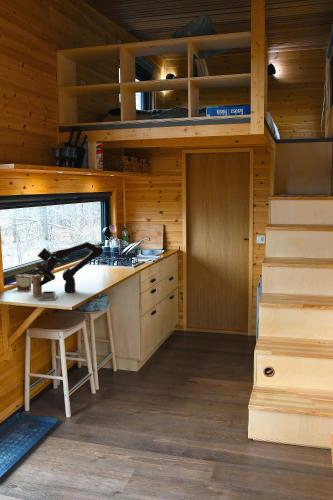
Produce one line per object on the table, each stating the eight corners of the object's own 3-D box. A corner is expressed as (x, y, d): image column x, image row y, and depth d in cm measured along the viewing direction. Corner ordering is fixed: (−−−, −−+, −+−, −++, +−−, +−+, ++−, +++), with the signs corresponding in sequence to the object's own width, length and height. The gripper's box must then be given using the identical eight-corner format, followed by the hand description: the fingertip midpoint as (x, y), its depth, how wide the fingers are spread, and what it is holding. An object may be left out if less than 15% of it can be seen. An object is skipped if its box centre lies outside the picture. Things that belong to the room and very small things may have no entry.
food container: (36, 289, 332) (36, 274, 330) (31, 291, 326) (30, 276, 325) (21, 287, 336) (20, 273, 334) (15, 289, 330) (15, 275, 328)
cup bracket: (57, 296, 311) (57, 290, 310) (56, 300, 301) (55, 294, 300) (41, 296, 310) (41, 291, 309) (39, 300, 300) (39, 294, 299)
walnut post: (38, 294, 316) (37, 274, 314) (42, 295, 313) (41, 275, 312) (33, 295, 313) (32, 275, 311) (36, 296, 310) (35, 276, 309)
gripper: (34, 256, 320) (19, 275, 313) (50, 259, 307) (35, 279, 301) (45, 266, 326) (31, 285, 320) (61, 270, 314) (47, 289, 307)
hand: (35, 284), depth 312 cm, fingers open, 9 cm apart
